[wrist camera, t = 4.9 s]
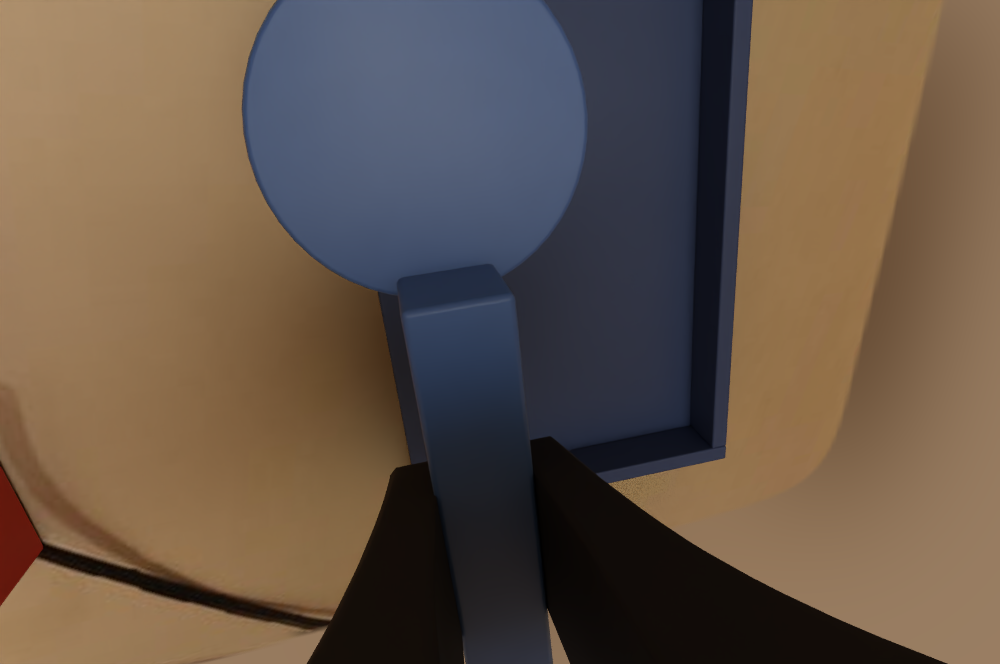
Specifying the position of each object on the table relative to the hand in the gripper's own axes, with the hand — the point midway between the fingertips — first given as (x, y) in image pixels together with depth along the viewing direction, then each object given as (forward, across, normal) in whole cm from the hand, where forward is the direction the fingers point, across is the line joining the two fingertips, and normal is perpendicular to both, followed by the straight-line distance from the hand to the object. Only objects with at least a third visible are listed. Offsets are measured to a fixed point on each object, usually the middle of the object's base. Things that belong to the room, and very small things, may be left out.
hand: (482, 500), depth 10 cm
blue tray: (+8, -4, -2) cm, 10 cm away
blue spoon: (+2, 0, -2) cm, 3 cm away
